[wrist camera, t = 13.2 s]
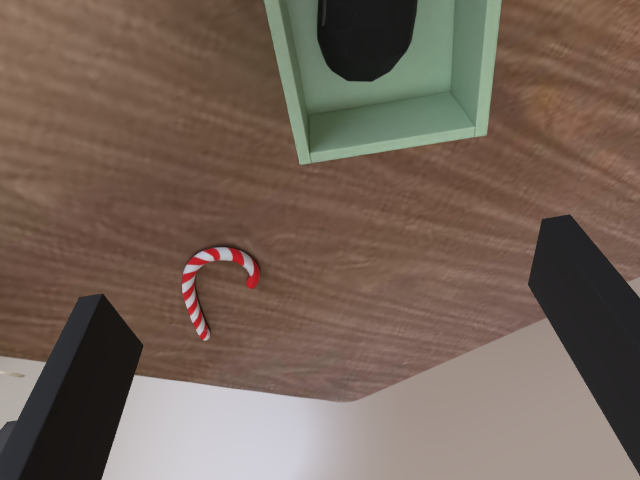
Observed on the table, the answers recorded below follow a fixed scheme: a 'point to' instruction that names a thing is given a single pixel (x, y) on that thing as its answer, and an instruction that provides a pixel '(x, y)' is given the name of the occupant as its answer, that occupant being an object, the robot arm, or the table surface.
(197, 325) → the candy cane
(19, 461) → the robot arm
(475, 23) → the open rectangular box
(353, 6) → the gaming mouse
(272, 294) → the table surface
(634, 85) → the table surface
